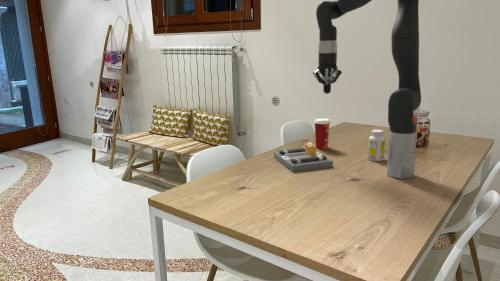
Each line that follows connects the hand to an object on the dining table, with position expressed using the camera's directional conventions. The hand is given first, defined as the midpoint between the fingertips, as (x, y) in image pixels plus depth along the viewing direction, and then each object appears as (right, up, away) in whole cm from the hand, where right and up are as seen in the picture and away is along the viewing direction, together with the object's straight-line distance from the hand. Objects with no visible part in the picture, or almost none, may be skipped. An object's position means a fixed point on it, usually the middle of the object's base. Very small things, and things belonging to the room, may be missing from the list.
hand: (327, 93), depth 166 cm
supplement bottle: (+22, -29, +3) cm, 36 cm away
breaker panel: (-10, -29, +3) cm, 31 cm away
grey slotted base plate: (-10, -29, +3) cm, 31 cm away
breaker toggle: (-6, -27, +4) cm, 28 cm away
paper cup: (+2, -24, +24) cm, 34 cm away
